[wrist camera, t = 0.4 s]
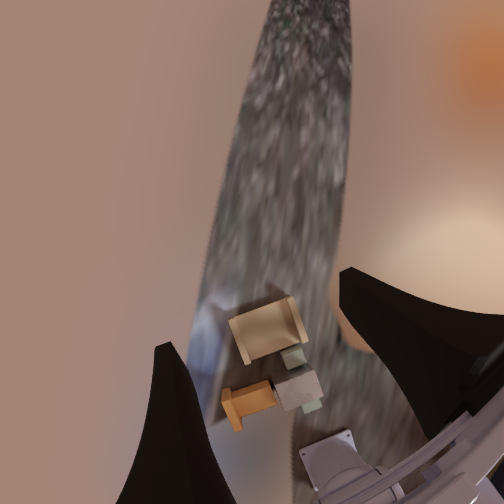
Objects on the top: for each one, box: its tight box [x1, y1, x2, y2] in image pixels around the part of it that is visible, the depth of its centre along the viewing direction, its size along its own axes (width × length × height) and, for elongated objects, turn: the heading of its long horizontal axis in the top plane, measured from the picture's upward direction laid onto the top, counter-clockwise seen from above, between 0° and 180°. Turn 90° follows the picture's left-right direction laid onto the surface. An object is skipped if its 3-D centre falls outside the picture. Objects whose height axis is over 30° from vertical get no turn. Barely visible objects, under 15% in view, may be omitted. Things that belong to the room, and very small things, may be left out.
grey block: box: [270, 363, 323, 412], centre depth 37 cm, size 4×5×5 cm
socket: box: [280, 345, 322, 414], centre depth 38 cm, size 9×2×3 cm, turn 20°
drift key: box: [221, 379, 277, 432], centre depth 36 cm, size 4×6×5 cm
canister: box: [486, 455, 504, 500], centre depth 30 cm, size 10×10×18 cm
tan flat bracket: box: [228, 296, 309, 365], centre depth 38 cm, size 6×8×2 cm
